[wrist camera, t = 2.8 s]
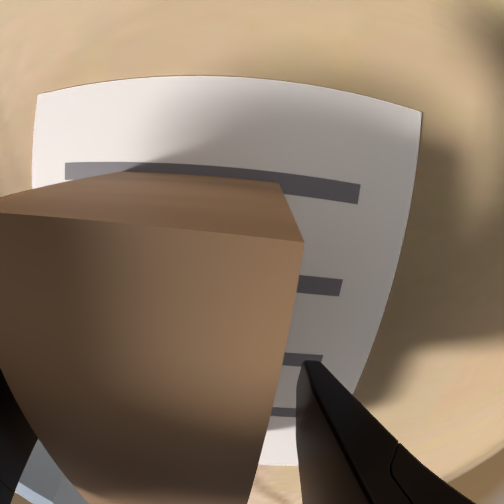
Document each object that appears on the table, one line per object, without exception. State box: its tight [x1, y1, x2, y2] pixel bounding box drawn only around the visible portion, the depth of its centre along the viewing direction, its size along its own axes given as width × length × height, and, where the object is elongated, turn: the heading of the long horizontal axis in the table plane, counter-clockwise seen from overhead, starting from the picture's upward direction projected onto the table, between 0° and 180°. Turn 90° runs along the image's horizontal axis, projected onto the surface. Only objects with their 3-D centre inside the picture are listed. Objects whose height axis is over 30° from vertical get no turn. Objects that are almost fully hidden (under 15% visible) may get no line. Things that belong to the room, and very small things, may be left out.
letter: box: [32, 76, 422, 466], centre depth 8 cm, size 14×11×1 cm
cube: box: [15, 439, 89, 504], centre depth 9 cm, size 5×5×5 cm
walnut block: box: [0, 171, 305, 504], centre depth 6 cm, size 9×4×5 cm, turn 174°
